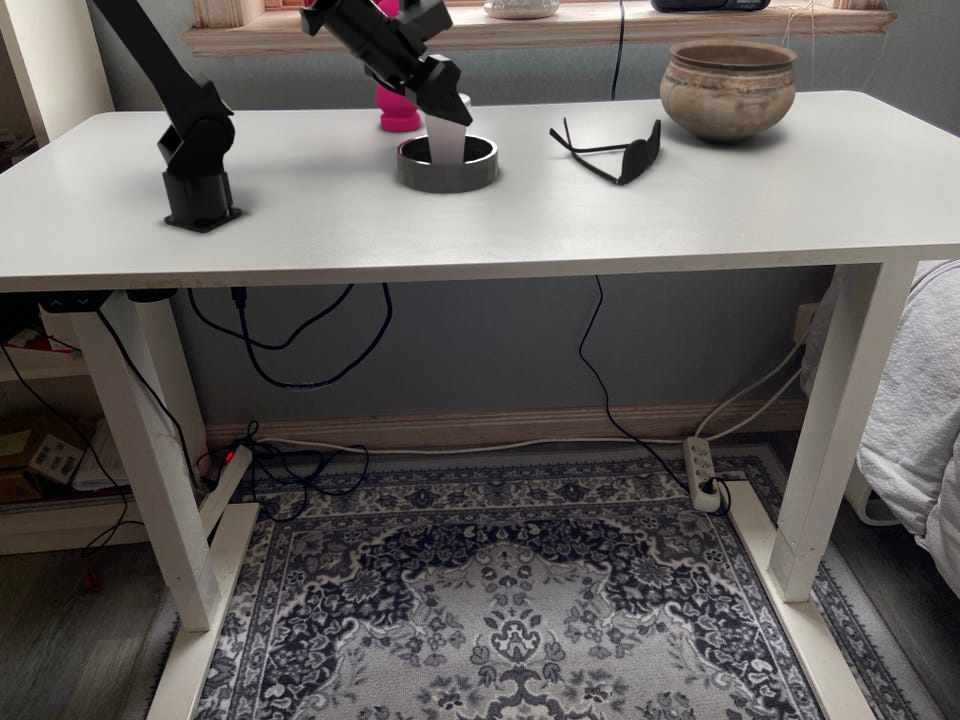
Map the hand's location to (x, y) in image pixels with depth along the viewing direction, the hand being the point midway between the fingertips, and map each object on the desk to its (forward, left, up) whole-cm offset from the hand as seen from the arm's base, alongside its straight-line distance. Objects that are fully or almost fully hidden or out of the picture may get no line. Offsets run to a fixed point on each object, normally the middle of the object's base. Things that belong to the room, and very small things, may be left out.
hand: (454, 114), depth 96 cm
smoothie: (-1, +1, -8) cm, 8 cm away
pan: (-1, +1, -8) cm, 8 cm away
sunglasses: (+14, -15, -8) cm, 22 cm away
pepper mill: (+15, +19, -8) cm, 25 cm away
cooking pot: (+32, -27, -8) cm, 43 cm away
